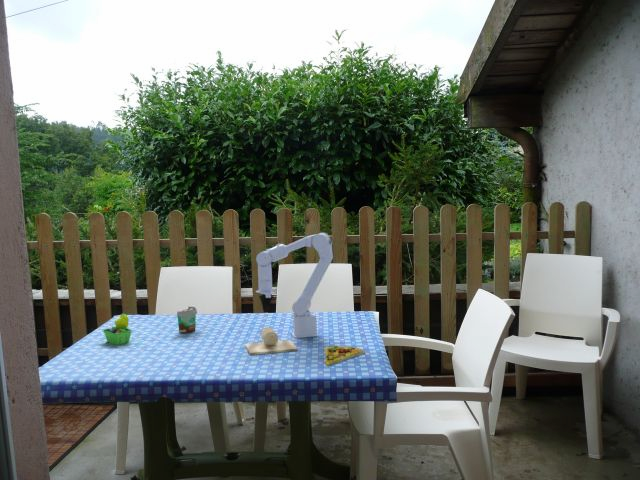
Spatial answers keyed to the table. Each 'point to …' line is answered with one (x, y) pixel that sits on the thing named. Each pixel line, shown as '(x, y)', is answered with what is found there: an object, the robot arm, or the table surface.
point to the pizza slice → (340, 353)
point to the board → (270, 347)
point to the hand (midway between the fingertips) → (266, 312)
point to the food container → (187, 320)
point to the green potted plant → (119, 331)
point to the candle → (269, 336)
